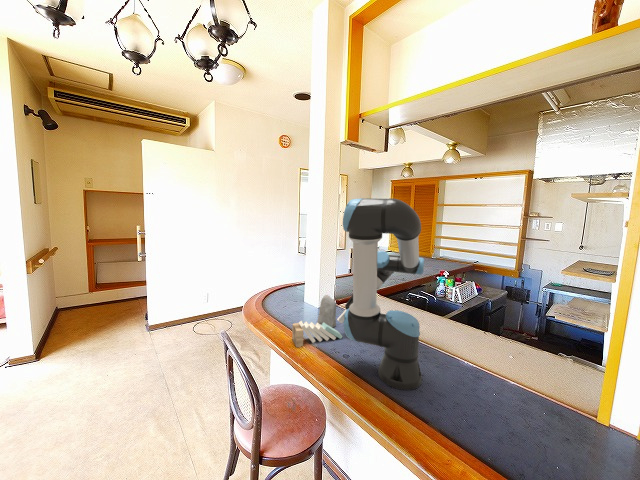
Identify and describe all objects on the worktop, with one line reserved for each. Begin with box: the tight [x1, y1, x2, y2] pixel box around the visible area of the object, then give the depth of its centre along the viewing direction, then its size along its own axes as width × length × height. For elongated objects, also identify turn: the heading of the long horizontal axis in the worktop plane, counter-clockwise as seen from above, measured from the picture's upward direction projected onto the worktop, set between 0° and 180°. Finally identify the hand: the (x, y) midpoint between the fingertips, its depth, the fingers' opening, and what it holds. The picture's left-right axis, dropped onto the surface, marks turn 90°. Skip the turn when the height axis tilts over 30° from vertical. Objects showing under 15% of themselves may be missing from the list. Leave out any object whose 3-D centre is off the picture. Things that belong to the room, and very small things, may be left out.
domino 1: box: [298, 320, 316, 344], centre depth 122 cm, size 5×2×10 cm
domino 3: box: [308, 321, 330, 342], centre depth 124 cm, size 5×2×10 cm
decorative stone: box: [317, 294, 337, 328], centre depth 141 cm, size 11×6×15 cm, turn 41°
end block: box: [291, 322, 304, 348], centre depth 121 cm, size 8×3×8 cm, turn 19°
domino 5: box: [321, 322, 343, 340], centre depth 126 cm, size 5×2×10 cm
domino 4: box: [315, 321, 337, 341], centre depth 125 cm, size 5×2×10 cm
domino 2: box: [303, 321, 323, 343], centre depth 123 cm, size 5×2×10 cm
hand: (339, 321), depth 127 cm, fingers closed
